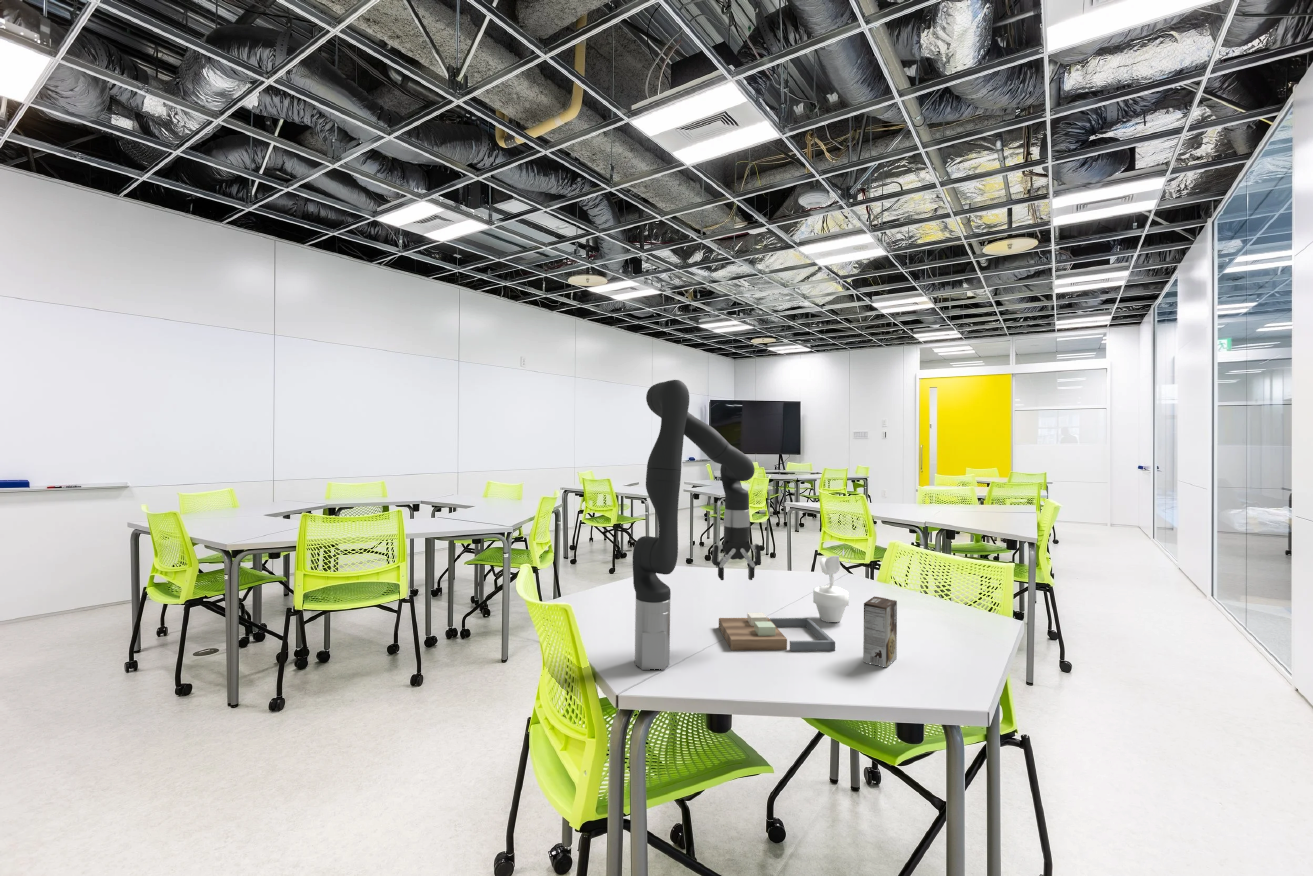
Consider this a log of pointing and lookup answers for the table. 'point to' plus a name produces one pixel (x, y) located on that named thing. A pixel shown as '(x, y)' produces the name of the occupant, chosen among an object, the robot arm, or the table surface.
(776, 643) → the board
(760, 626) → the tile sage
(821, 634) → the tray
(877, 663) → the coffee box
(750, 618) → the tile cream
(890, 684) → the table surface
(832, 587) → the potted plant
